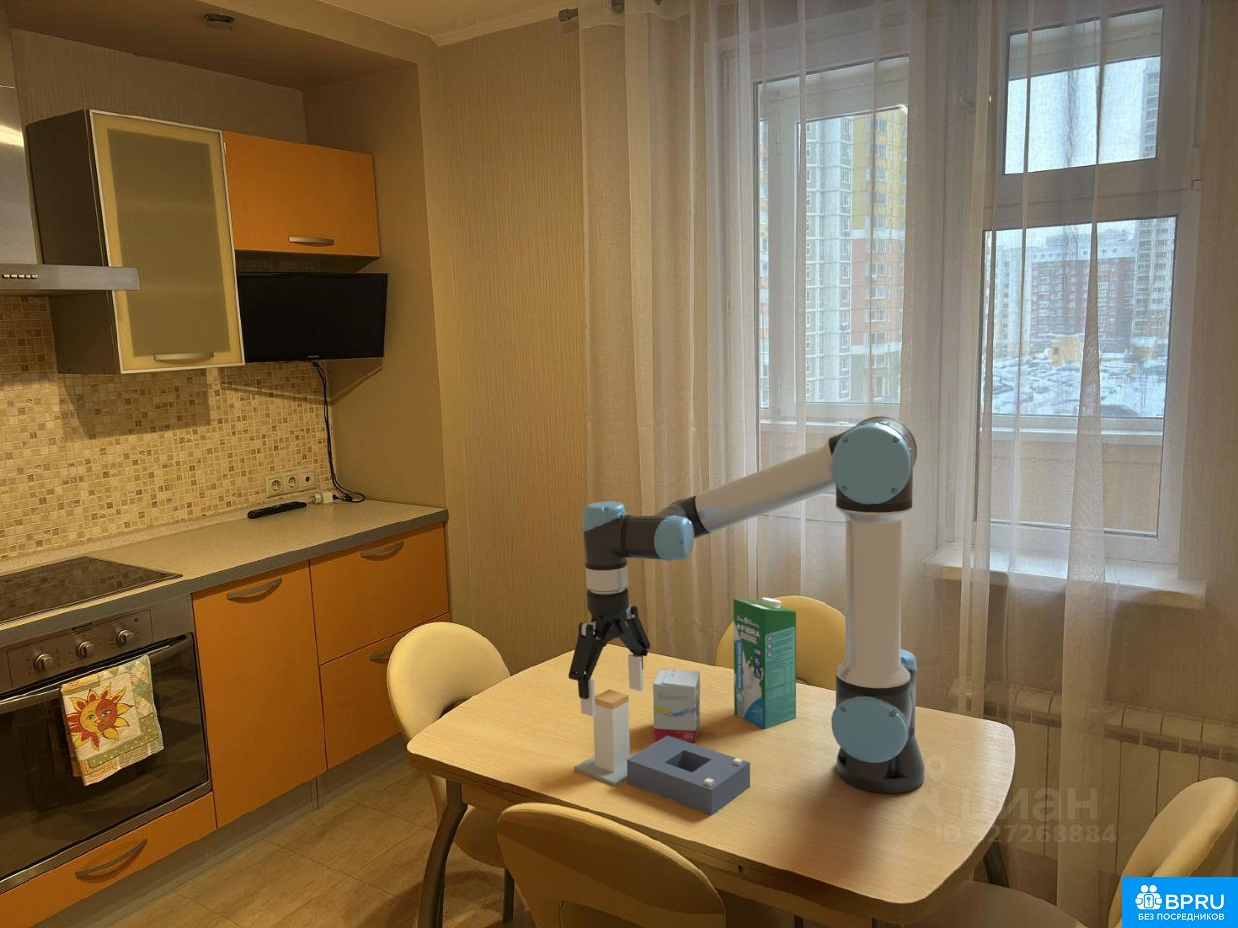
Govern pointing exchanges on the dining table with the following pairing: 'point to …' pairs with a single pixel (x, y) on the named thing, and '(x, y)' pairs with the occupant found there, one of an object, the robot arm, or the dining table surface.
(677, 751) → the grey square-hole block
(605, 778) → the mat
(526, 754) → the dining table surface
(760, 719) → the milk carton
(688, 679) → the ink box
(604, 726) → the plug
